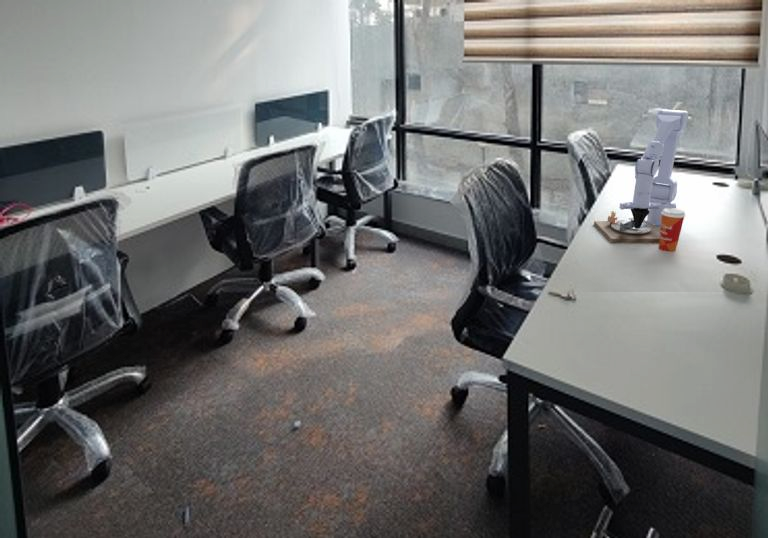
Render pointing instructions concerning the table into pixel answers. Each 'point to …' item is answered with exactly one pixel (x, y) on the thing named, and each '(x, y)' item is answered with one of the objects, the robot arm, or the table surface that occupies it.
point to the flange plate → (632, 230)
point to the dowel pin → (612, 215)
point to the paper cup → (670, 228)
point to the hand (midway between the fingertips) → (637, 227)
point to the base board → (627, 238)
